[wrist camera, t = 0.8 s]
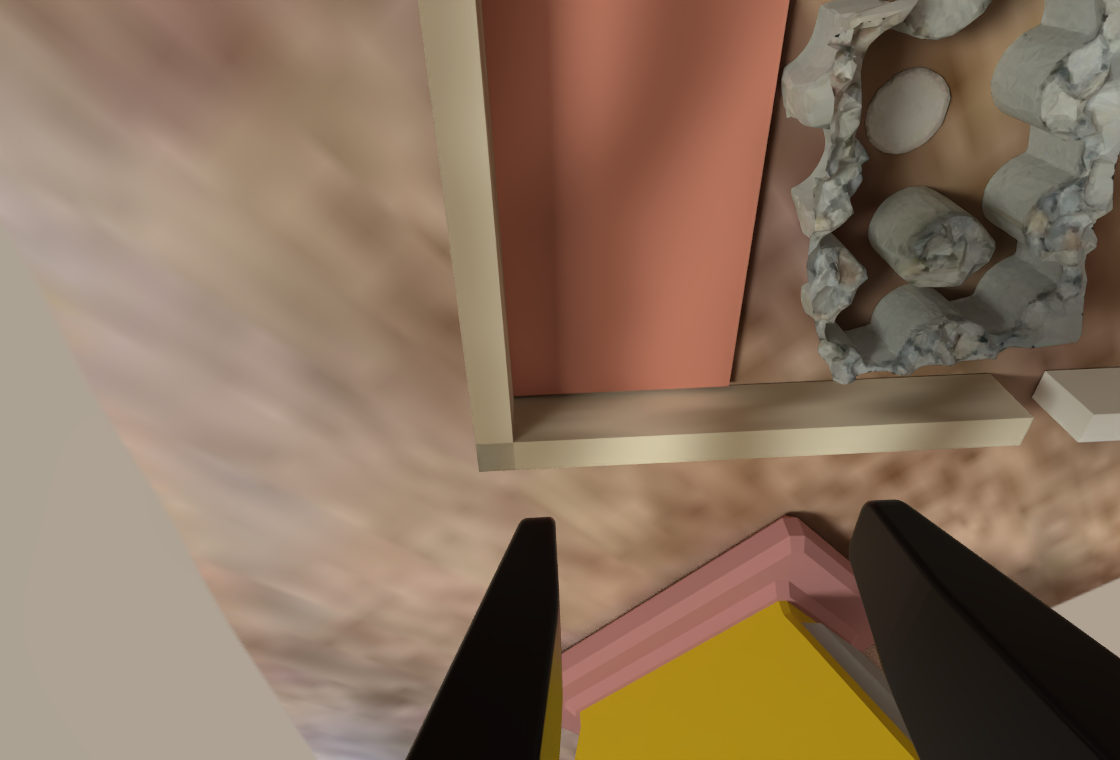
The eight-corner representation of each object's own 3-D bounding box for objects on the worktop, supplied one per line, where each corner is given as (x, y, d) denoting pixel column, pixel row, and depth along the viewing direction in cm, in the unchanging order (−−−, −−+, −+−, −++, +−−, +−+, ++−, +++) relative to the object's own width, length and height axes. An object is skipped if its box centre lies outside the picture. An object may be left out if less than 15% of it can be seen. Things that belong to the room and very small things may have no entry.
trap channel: (1261, -247, 14) (1385, -272, 12) (978, 400, 24) (1020, 445, 22) (405, -226, 14) (385, -249, 12) (483, 423, 24) (479, 471, 22)
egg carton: (765, -1, 17) (824, 21, 13) (1078, -87, 16) (1224, -86, 13) (783, 344, 23) (827, 419, 19) (1011, 294, 22) (1098, 363, 19)
